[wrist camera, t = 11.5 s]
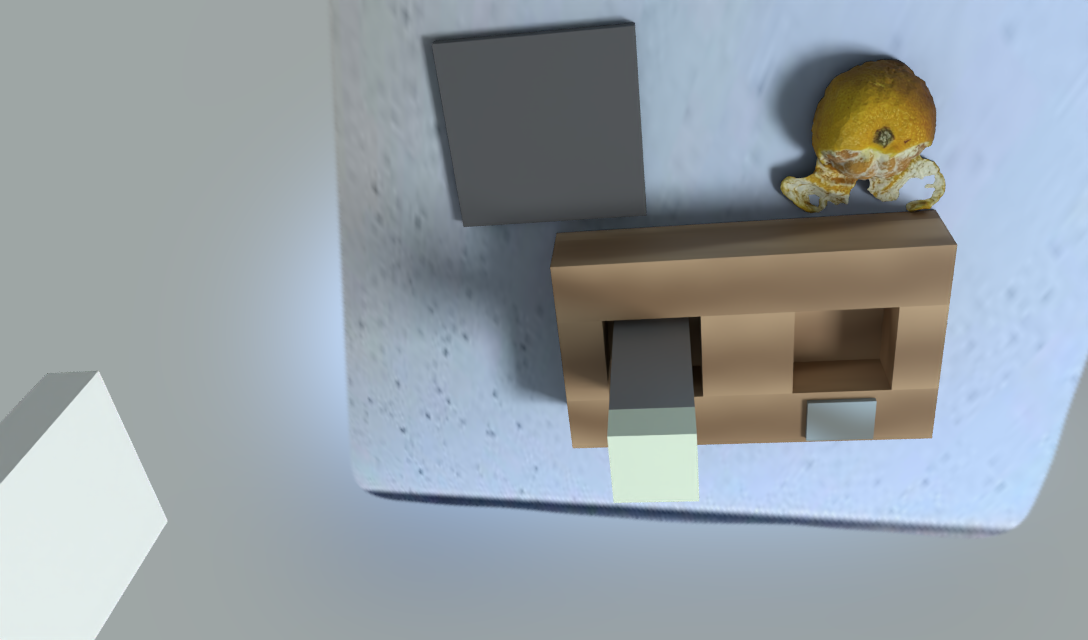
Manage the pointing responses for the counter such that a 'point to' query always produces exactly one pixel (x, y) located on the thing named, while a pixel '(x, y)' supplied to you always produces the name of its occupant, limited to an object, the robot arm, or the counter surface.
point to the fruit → (870, 137)
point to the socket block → (768, 322)
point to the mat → (544, 124)
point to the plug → (652, 412)
